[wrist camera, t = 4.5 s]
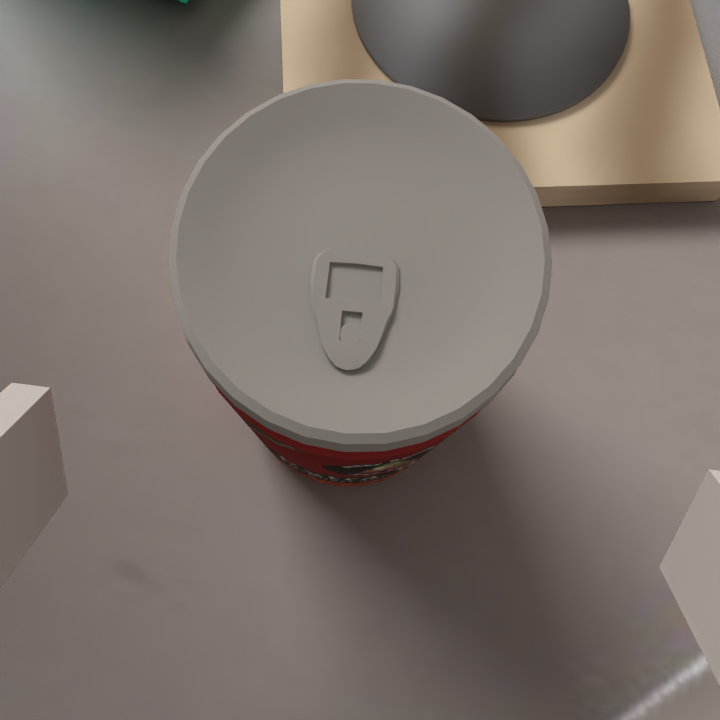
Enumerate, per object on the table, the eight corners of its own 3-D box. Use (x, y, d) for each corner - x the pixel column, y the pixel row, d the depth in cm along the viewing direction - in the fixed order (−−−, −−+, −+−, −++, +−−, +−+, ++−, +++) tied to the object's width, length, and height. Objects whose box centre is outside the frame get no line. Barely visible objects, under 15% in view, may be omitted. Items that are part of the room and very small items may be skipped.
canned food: (262, 507, 20) (187, 485, 10) (232, 298, 23) (143, 97, 12) (472, 466, 21) (610, 405, 11) (424, 267, 23) (499, 52, 13)
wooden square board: (289, 215, 24) (286, 190, 22) (278, -113, 29) (275, -154, 27) (715, 200, 25) (744, 176, 23) (634, -113, 30) (653, -153, 28)
